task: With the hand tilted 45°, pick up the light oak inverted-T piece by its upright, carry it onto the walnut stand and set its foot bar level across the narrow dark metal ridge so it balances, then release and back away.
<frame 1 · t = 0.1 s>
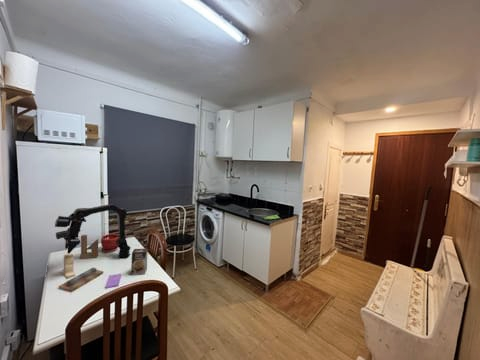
hand: (67, 250, 126), 15 cm above the table, tool pointing down, fingers open, 9 cm apart
sponges: (113, 282, 122), on the table
coffee box: (139, 272, 134), on the table
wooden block: (89, 257, 148), on the table
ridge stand: (82, 280, 121), on the table
oak T piece: (68, 273, 127), on the table
plant pot: (110, 250, 163), on the table
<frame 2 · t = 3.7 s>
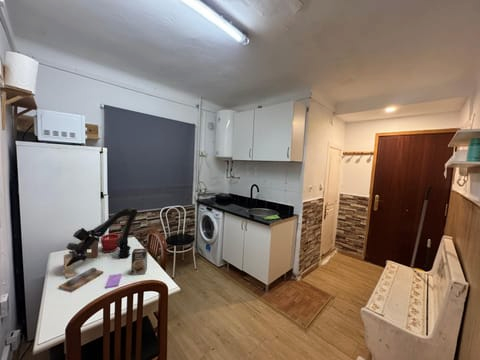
hand: (65, 265, 125), 7 cm above the table, tool tilted 45°, fingers closed on oak T piece, 4 cm apart
oak T piece: (68, 273, 127), on the table, touching gripper
everything else where it was.
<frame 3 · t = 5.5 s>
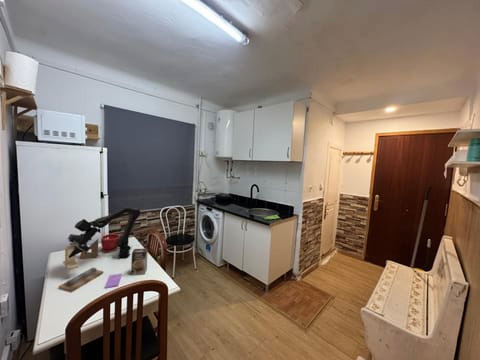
hand: (67, 256, 123), 13 cm above the table, tool tilted 45°, fingers closed on oak T piece, 4 cm apart
oak T piece: (70, 265, 125), point 7 cm above the table, touching gripper
everything else where it was.
when the fingers open (11 cm above the table, at t = 7.3 s): oak T piece stays where it is, resting on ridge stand.
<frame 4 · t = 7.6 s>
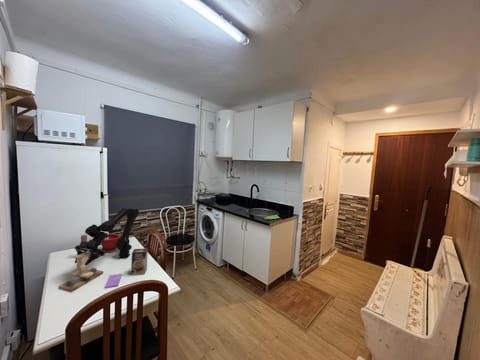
hand: (80, 264, 119), 12 cm above the table, tool tilted 45°, fingers open, 8 cm apart
oak T piece: (82, 274, 121), point 4 cm above the table, touching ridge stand
everything else where it was.
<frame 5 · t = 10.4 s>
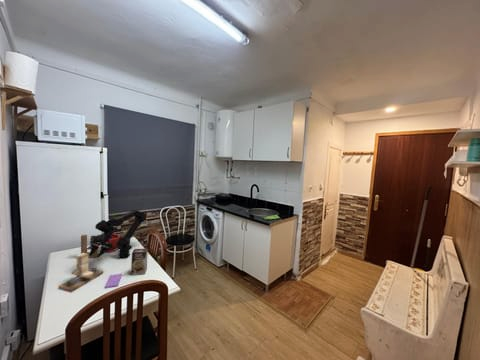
hand: (93, 256, 129), 11 cm above the table, tool tilted 40°, fingers open, 9 cm apart
nothing on the table moved.
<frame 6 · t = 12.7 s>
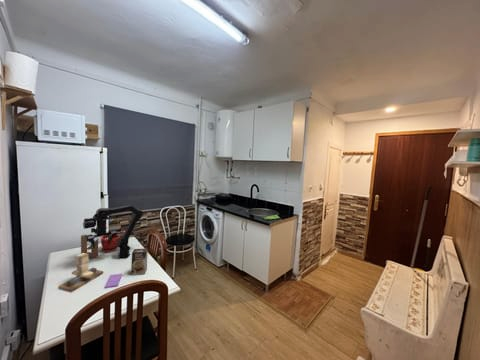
hand: (101, 246, 141), 13 cm above the table, tool pointing down, fingers open, 9 cm apart
nothing on the table moved.
at the end: oak T piece 0.0 cm off-centre on the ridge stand, point 4.0 cm above the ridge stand's base; oak T piece tilted 0°; the gripper is holding nothing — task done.
